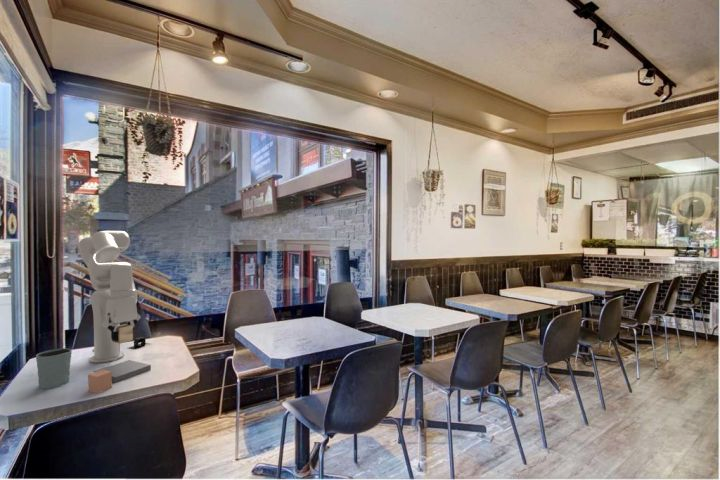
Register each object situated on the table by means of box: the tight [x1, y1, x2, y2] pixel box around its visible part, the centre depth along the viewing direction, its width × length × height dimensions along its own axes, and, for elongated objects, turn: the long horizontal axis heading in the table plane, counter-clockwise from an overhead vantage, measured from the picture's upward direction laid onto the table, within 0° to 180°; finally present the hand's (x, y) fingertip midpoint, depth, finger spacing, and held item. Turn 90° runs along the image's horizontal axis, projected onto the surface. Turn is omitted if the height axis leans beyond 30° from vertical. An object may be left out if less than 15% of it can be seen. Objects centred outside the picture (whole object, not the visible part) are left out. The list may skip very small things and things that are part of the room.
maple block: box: [112, 323, 134, 344], centre depth 143 cm, size 5×5×6 cm
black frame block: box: [127, 336, 151, 350], centre depth 178 cm, size 12×7×5 cm, turn 158°
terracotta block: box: [87, 369, 113, 394], centre depth 128 cm, size 5×5×6 cm
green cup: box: [35, 347, 73, 390], centre depth 133 cm, size 10×10×12 cm
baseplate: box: [93, 359, 152, 383], centre depth 143 cm, size 14×14×2 cm
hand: (122, 338), depth 143 cm, fingers closed on maple block, 4 cm apart
